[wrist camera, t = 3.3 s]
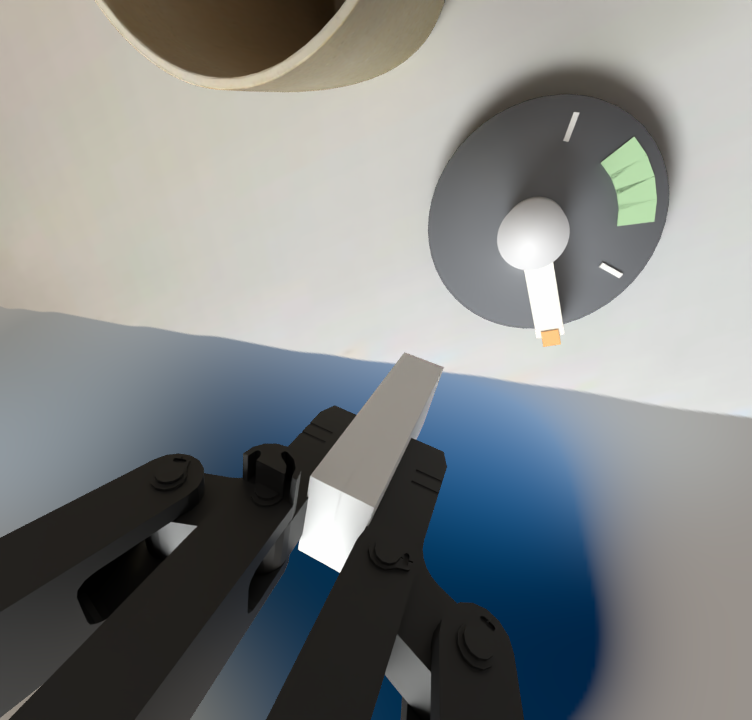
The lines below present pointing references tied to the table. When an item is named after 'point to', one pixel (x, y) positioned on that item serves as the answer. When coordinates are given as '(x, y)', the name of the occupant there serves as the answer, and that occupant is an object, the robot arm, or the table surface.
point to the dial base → (564, 186)
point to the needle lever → (537, 258)
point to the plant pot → (274, 39)
